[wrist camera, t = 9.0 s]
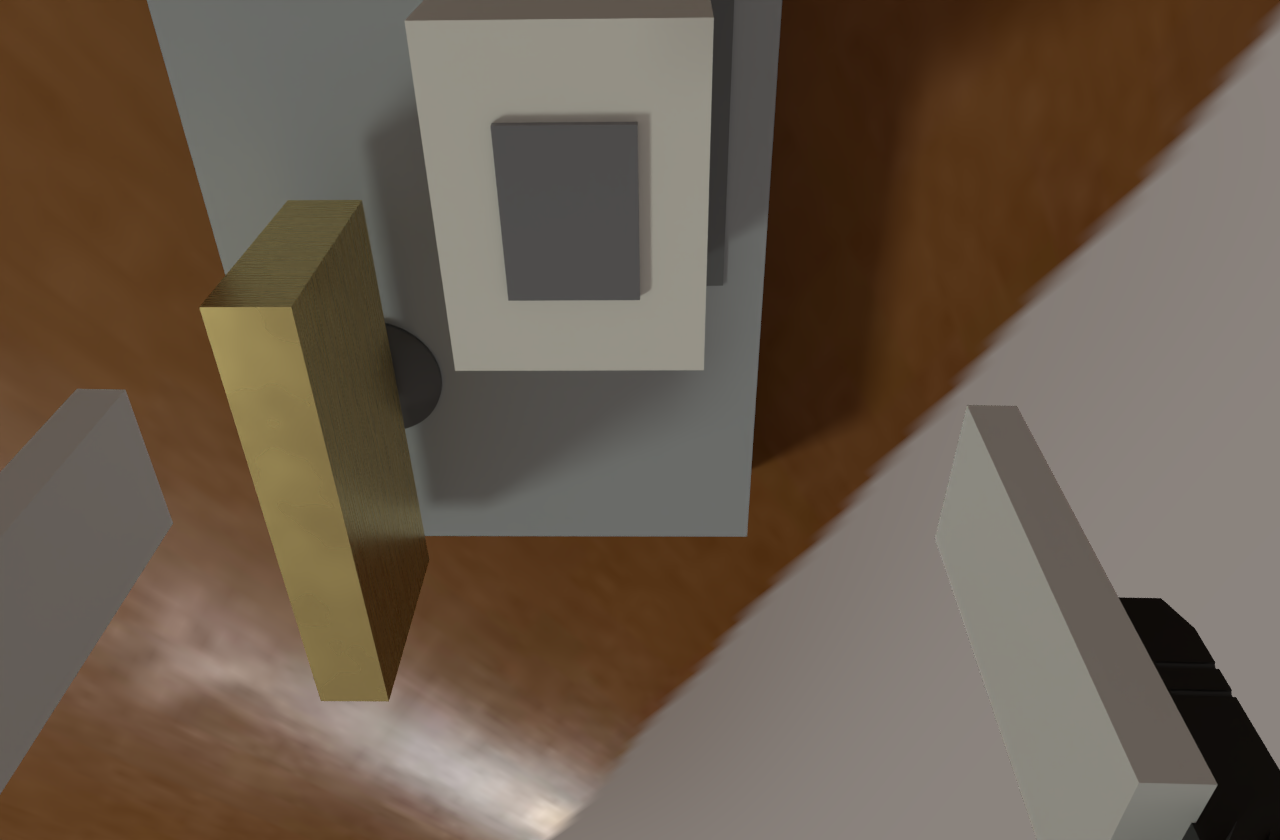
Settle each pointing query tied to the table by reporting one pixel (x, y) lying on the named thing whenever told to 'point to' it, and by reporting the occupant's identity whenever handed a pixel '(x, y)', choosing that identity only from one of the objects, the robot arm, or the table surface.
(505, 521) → the housing
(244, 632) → the table surface
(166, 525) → the robot arm
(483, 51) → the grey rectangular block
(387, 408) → the yellow rectangular block
